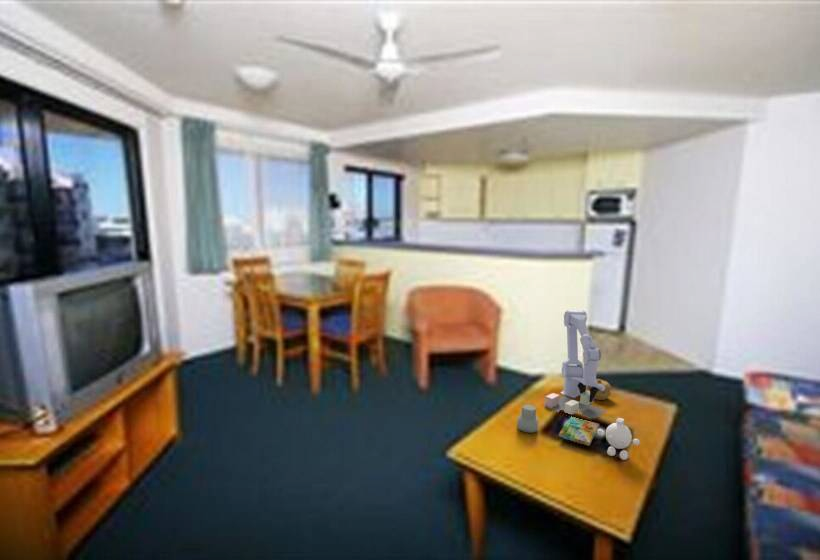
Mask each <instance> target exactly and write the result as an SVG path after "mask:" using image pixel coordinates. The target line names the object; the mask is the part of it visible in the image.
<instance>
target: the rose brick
mask: <svg viewBox="0 0 820 560" xmlns="http://www.w3.org/2000/svg"><path fill="white" fill-rule="evenodd" d="M544 398H545V400H544V405H545V406H547V407H550V408H552V407H554V406H556V405H558V404H559V398H560V394H558V393H554V392H552V393H550V394H547V395H545V397H544Z"/></svg>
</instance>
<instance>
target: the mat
mask: <svg viewBox="0 0 820 560" xmlns="http://www.w3.org/2000/svg"><path fill="white" fill-rule="evenodd" d="M570 400H575V401H578V402H579V409H580V410H579V409H578V410H579V412H581V413H582V415H585V416H586V417H587V418H593V420H595V419H596V418H597V417H599V416H601V415H602V414H604V413H605V412H606V410H605V409H602V408H600V407H597V406H594V405H591V404H589V405H584V404H581V403H580V400H576V399H575V398H572V397H569V396H566V395H562V396H559V404H558V405H556V406H554V407H552V408H550V407H547V406H545V404H544V405H542V407H544V408H546V409H548V410H552V411H555V412H557V413H559V411H560V410H564V408H565V403H567V402H569V401H570Z"/></svg>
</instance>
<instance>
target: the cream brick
mask: <svg viewBox="0 0 820 560" xmlns="http://www.w3.org/2000/svg"><path fill="white" fill-rule="evenodd" d="M575 400H576V399H574V400H570V401H569V402H567V403H565V408H564V412H565V413H568V414H571V415H572V414H574V413H576V412H578V409H579V402H578V401H579V400H577V401H575Z"/></svg>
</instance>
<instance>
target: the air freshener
mask: <svg viewBox="0 0 820 560" xmlns="http://www.w3.org/2000/svg"><path fill="white" fill-rule="evenodd" d="M516 424H517V425H516V427H517V429H519V430H520V431H522V432H524V433H528V434H531V433H532V434H533V433H537V432H538V430H539V417H537V407H535V406H534V405H531V404H524V405H522V406H521V414H519V415H518V417H517V423H516Z"/></svg>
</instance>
